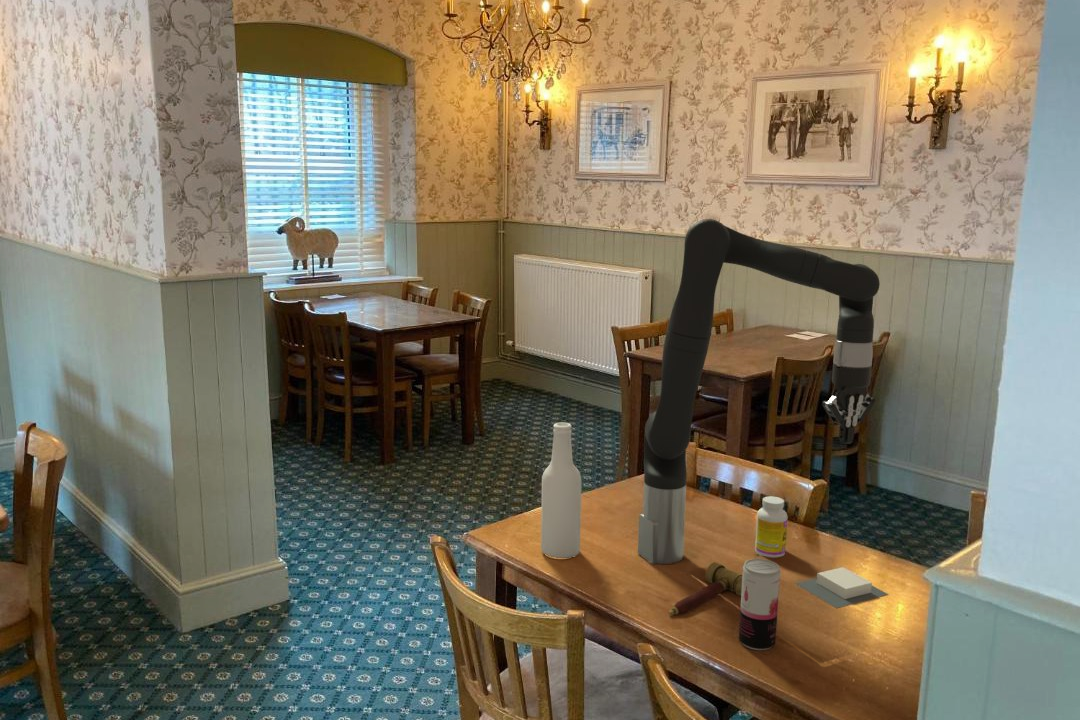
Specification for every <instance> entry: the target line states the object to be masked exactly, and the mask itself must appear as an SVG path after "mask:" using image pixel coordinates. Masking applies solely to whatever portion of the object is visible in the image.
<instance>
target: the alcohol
mask: <svg viewBox="0 0 1080 720" xmlns="http://www.w3.org/2000/svg"><path fill="white" fill-rule="evenodd" d="M572 427H573V426H572V424H571V423H569V422H563V421H561V422H556V423H554V424H553V429H552V431H553V432H552V433H553V437H552V439H553V440H552V449H551V460H550V463H549V465H548V466H547V467H546V468H545V470H544V471H543V473H542V477H541V523H540V524H541V526H540V527H541V528H540V529H541V530H540V531H541V534H540V535H541V536H540V537H541V538H540V541H541V543H540V550H541V552H542V553H543V555H544V554H546V555H548V556H551V557H556V558H570V557H573V556H575V557H577V556H578V554H579V553H580V551H581V529H582V528H581V527H582V526H581V524H582V523H581V522H582V518H581V516H582V514H581V513H582V475H581V472H580V470H579V469H578V468H577V467H576V466H575V465H574V461H573V447H572V432H573V431H572Z"/></svg>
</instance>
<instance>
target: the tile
mask: <svg viewBox="0 0 1080 720" xmlns="http://www.w3.org/2000/svg"><path fill="white" fill-rule="evenodd" d="M816 578H817V583H818V584H819V585H821V586H823V587H825V588H826V589H828V590H830V591H831V592H833V593H835V594H837V595H838V596H840V597H842V598H844V599H848V598H852V597H856V596H860V595H864V594H868V593H871V586H873V585H872V584H873V583H872V581H870V580H868V579H866V578H864V577H863V576H861V575H858V574H857V573H854V572H853V571H851V570H849V569H848V568H846V567H838V568H833V569H829V570H825V571H821V572H817V573H816Z"/></svg>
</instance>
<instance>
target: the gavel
mask: <svg viewBox="0 0 1080 720" xmlns="http://www.w3.org/2000/svg"><path fill="white" fill-rule="evenodd" d="M704 575H705V576H704V577H705V581H706V582H708V583H709V585H707V586H705V587H703V588H701V589H699V590H697V591H695V592H693V593H691V594H690V595H688V596H686V597H684V598H682V599H680V600H679V601H677V602H675V604H674V605H673V607H671V609H670V610H669V611H668V615H669V616H677V615H684V614H686V613H688V612H690V611H692V610H694V609H695V608H698V607H699V606H700V605H703V604H704V603H707V602H708V601H710V600H712V599H714V598H716V597H718V596H720V595H721V593H723V592H725V591H726V590H728V591H730V592H732V593H736V595H737V596H739V597H741V591H742V575H743V574H740V573H738V572H736V571H733V570H732V569H729V568H727V567H726V566H724V565H723V564H721V563H718V562H714V561H713V562H712V563H710V564H709V566H708V567H707V569H706V571H705V574H704Z"/></svg>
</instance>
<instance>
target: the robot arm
mask: <svg viewBox="0 0 1080 720" xmlns="http://www.w3.org/2000/svg"><path fill="white" fill-rule="evenodd" d="M683 244H684V246H683V247H684V249H683V260H682V261H683V263H682V271H681V272H682V273H681V278H680V283H679V288H678V291H677V294H676V297H675V299H674V303H673V306H672V309H671V312H670V317H669V320H668V324H667V326H666V327H667V328H666V332H665V337H664V342H663V351H662V360H661V386H660V393H659V394H660V395H659V401H658V404H657V406H656V410H655V411H654V412H653V413H651V415H650V416H649V417H648V418H647V420H646V421H645V425H644V426H645V427H644V439H643V440H644V443H643V454H644V455H643V470H644V471H643V472H644V473H643V474H644V475H643V476H644V478H643V481H644V482H643V501H642V504H643V505H642V506H643V507H642V508H643V509H642V513H639V515H638V534H637V535H638V537H637V540H638V541H637V542H638V543H637V554H638V555H639V556H640V555H641V558H643V559H644V560H646V561H647V562H649V563H650V564H652V565H654V564H655V565H656V564H662V565H663V564H664V565H668V564H675V563H678V562H681V561H682V560H683V558H684V540H685V520H686V519H685V517H686V495H687V480H688V479H687V475H688V473H687V461H686V459H687V458H686V456H687V455H686V454H687V451H686V450H687V449H688V446H690V441H691V433H692V420H693V411H694V405H695V398H696V395H697V392H698V388H699V385H700V382H701V378H702V374H703V371H704V367H705V362H706V359H707V358H706V357H707V355H708V351H709V346H710V342H711V341H710V340H711V336H712V330H713V322H714V312H715V298H716V297H715V295H716V289H717V285H718V281H719V278H720V275H721V271H722V268H723V265H724V264H731V265H738V266H742V267H745V268H750V269H753V270H756V271H759V272H762V273H764V274H767V275H770V276H773V277H775V278H778V279H781V280H784V281H787V282H790V283H792V284H797V285H801V286H804V287H807V288H810V289H811V288H812V289H818V290H822V291H825V292H828V293H830V294H833V295H836V296H837V297H838V307H839V310H838V313H839V314H838V320H837V327H836V329H837V330H836V340H835V344H834V350H833V362H832V363H833V364H832V373H831V382H832V384H833V390H832V392H831V397H830V398H829V400H823V401H822V404H821V405H822V407H823V409H824V410H825V412H826V414H827V415H828V417H829V419H830V421H831V422H832V423H834V424H837V425H839V431H838V432H839V433H838V440H839V442H840V443H842V444H844V445H847V444H849V445H850V444H852V443H853V440H854V439H855V428H856V426H857V424H859V423H863V422H864V420H865V418H867V416H868V414H869V412H870V411H871V410H872V408H873V406H874V404H875V403H876V398H875V397H871V396H870V395H869V390H868V387H870V385H871V380H872V379H871V377H872V368H873V367H872V364H873V355H874V354H873V353H874V351H873V339H874V329H875V325H874V324H875V320H874V314H873V306H874V305H873V304H874V297H875V296H876V295H877V293H878V292H879V290H880V279H879V276H878V274H877V273H876V272H875V271H874V269H872V268H871V267H869V266H868V265H866V264H861V263H855V264H853V263H849V262H845V261H841V260H837V259H833V258H831V257H829V256H827V255H824V254H823V253H822V254H821V253H819V252H814V251H811V250H807V249H803V248H800V247H795V246H790V245H785V244H781V243H777V242H772V241H767V240H763V239H760V238H756V237H753V236H750V235H747V234H746V233H745V234H744V233H742V232H740V231H737V230H735V229H733V228H730V227H729V226H726V225H724V224H723V223H722V222H720V221H719V220H716V219H711V218H705V219H701V220H699V221H697V222H694V223H693V224H692V225H691V226H690V227H689V228H688V230H687V232H686V234H685V237H684V243H683Z"/></svg>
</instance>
